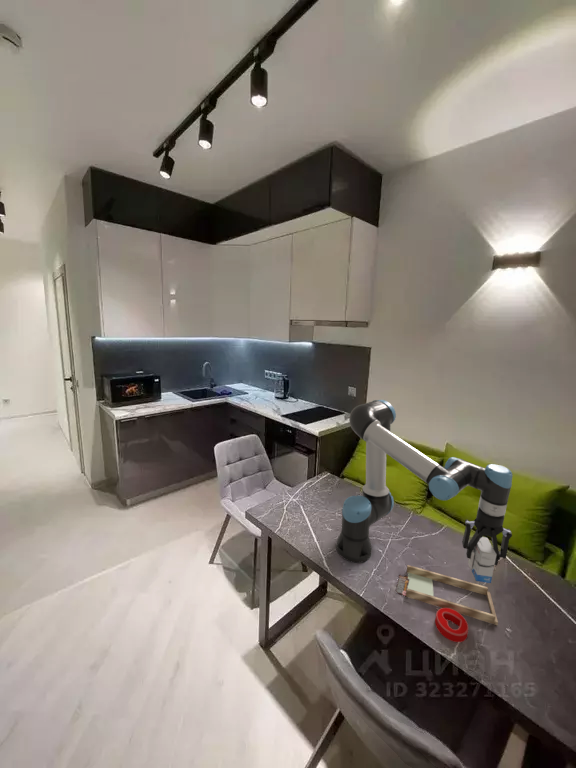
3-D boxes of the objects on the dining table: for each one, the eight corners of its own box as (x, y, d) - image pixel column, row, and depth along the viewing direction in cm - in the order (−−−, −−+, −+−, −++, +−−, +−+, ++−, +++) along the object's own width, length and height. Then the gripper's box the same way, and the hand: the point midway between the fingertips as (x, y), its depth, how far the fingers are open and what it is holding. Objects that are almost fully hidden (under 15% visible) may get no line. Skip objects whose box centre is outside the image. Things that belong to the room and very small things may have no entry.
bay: (405, 596, 117) (406, 589, 116) (406, 570, 128) (407, 564, 127) (497, 625, 107) (498, 618, 106) (489, 594, 118) (490, 588, 117)
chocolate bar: (407, 600, 116) (407, 599, 115) (393, 595, 118) (393, 593, 118) (411, 578, 125) (411, 577, 125) (398, 574, 127) (399, 572, 127)
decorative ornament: (473, 634, 104) (475, 626, 103) (454, 648, 99) (456, 640, 99) (447, 609, 112) (448, 602, 111) (428, 621, 108) (429, 614, 107)
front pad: (407, 595, 117) (407, 594, 117) (407, 572, 127) (408, 572, 127) (433, 603, 114) (434, 602, 114) (432, 579, 124) (432, 579, 124)
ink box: (491, 584, 107) (497, 554, 104) (475, 581, 108) (481, 552, 105) (482, 564, 115) (487, 536, 112) (467, 562, 116) (472, 534, 113)
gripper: (461, 510, 105) (451, 568, 111) (528, 524, 99) (513, 585, 104) (458, 497, 112) (449, 553, 118) (520, 510, 106) (507, 568, 111)
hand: (479, 568), depth 111 cm, fingers closed on ink box, 5 cm apart
